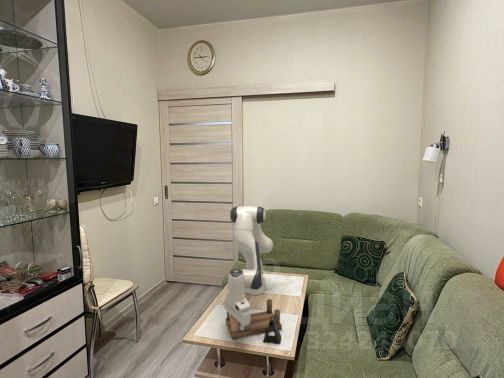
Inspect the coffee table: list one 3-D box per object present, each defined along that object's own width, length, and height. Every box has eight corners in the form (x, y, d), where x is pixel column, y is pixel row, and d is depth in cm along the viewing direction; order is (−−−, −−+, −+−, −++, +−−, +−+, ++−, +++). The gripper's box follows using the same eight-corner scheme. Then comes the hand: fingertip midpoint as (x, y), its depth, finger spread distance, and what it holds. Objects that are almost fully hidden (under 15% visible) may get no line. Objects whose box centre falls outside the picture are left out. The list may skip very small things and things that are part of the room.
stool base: (225, 322, 175) (225, 305, 173) (271, 314, 183) (271, 298, 181) (232, 339, 160) (232, 320, 158) (281, 330, 168) (281, 312, 166)
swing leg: (249, 326, 166) (249, 313, 165) (250, 330, 162) (250, 317, 161) (230, 328, 163) (230, 315, 162) (231, 333, 160) (231, 319, 159)
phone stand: (262, 342, 157) (262, 320, 156) (264, 335, 163) (264, 314, 161) (280, 344, 155) (280, 322, 154) (281, 337, 161) (281, 316, 160)
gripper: (221, 294, 164) (221, 317, 166) (242, 310, 148) (242, 336, 150) (231, 290, 168) (231, 314, 170) (252, 306, 151) (252, 332, 153)
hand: (236, 325), depth 160 cm, fingers open, 8 cm apart
